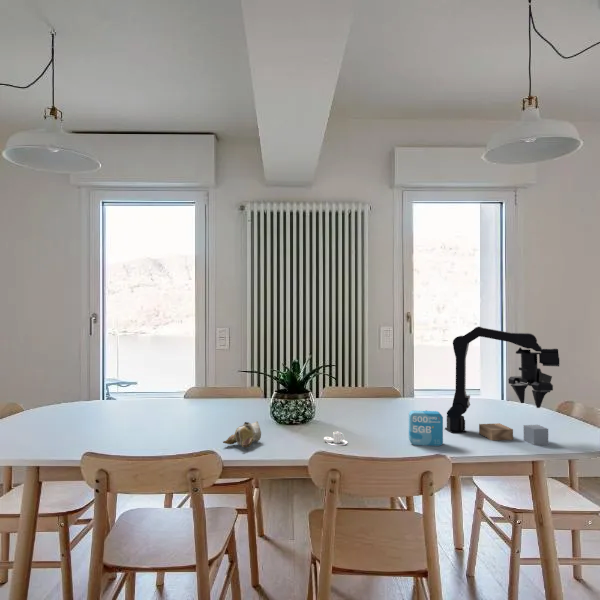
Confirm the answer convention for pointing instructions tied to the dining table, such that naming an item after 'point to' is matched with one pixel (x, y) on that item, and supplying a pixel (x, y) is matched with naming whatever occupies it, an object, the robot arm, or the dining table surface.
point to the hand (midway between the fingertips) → (530, 405)
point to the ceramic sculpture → (245, 435)
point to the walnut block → (496, 431)
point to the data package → (425, 428)
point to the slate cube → (536, 434)
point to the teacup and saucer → (335, 439)
